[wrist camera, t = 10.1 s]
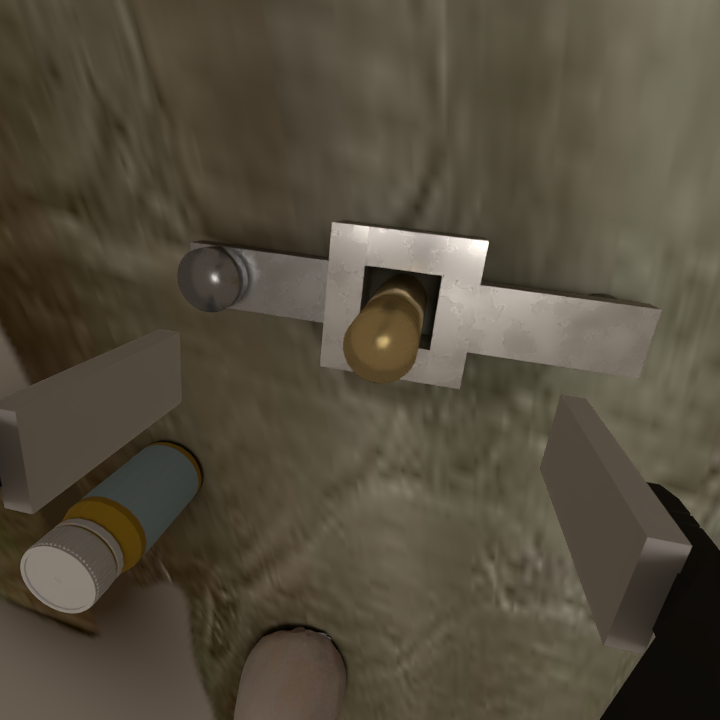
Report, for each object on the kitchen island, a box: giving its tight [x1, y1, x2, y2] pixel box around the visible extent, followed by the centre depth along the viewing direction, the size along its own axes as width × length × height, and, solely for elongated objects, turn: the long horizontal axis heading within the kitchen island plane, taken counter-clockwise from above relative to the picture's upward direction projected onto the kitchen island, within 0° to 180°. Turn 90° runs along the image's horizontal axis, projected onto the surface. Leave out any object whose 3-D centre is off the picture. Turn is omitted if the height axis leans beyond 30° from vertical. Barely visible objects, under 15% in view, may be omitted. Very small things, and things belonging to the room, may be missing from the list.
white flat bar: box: [178, 221, 662, 389], centre depth 35 cm, size 11×35×4 cm, turn 84°
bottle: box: [20, 442, 201, 613], centre depth 40 cm, size 7×7×15 cm
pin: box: [343, 274, 427, 383], centre depth 31 cm, size 4×4×14 cm
